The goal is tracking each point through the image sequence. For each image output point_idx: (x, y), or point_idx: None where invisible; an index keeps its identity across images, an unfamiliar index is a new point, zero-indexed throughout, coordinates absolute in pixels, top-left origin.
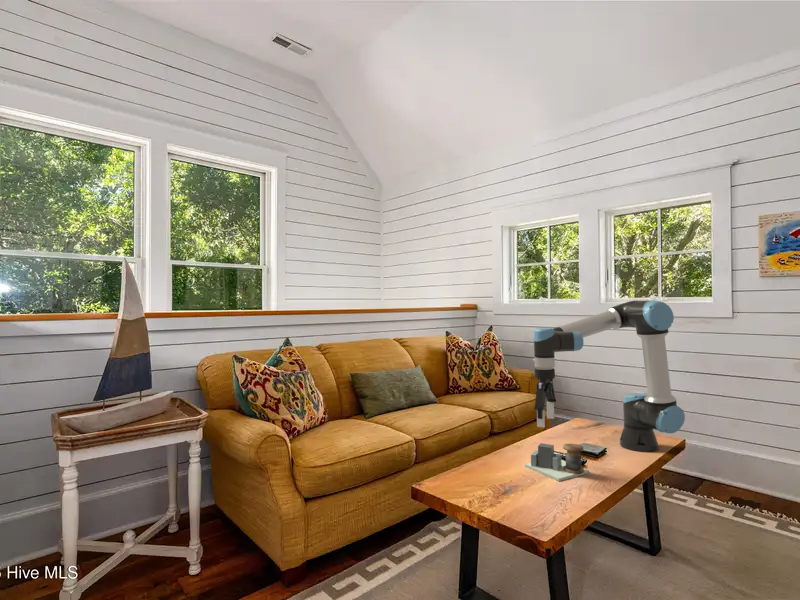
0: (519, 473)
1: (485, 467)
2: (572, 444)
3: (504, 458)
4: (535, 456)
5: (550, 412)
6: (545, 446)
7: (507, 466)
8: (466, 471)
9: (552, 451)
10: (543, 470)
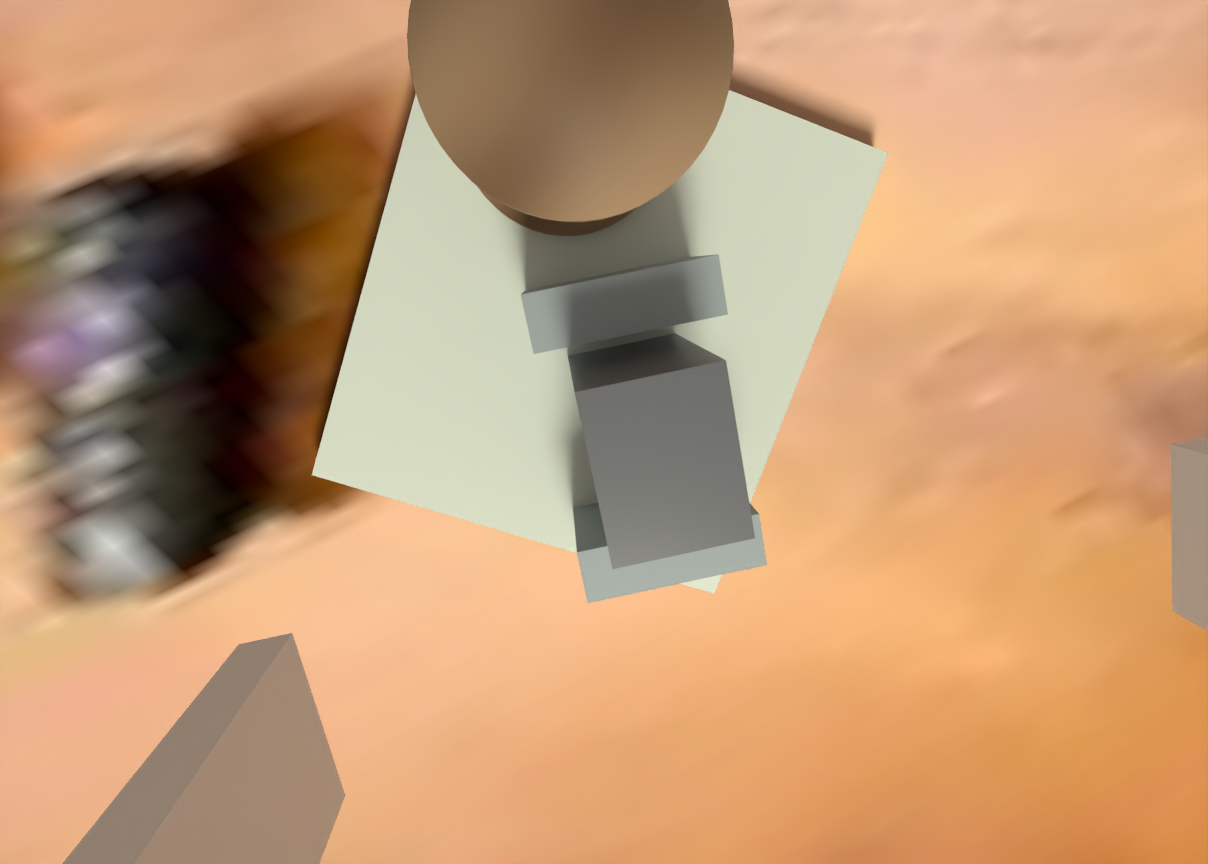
0: (883, 535)
1: (921, 808)
2: (472, 111)
3: (621, 818)
4: (754, 510)
5: (252, 839)
6: (712, 451)
7: (789, 696)
8: (1085, 858)
9: (643, 365)
10: (767, 373)
